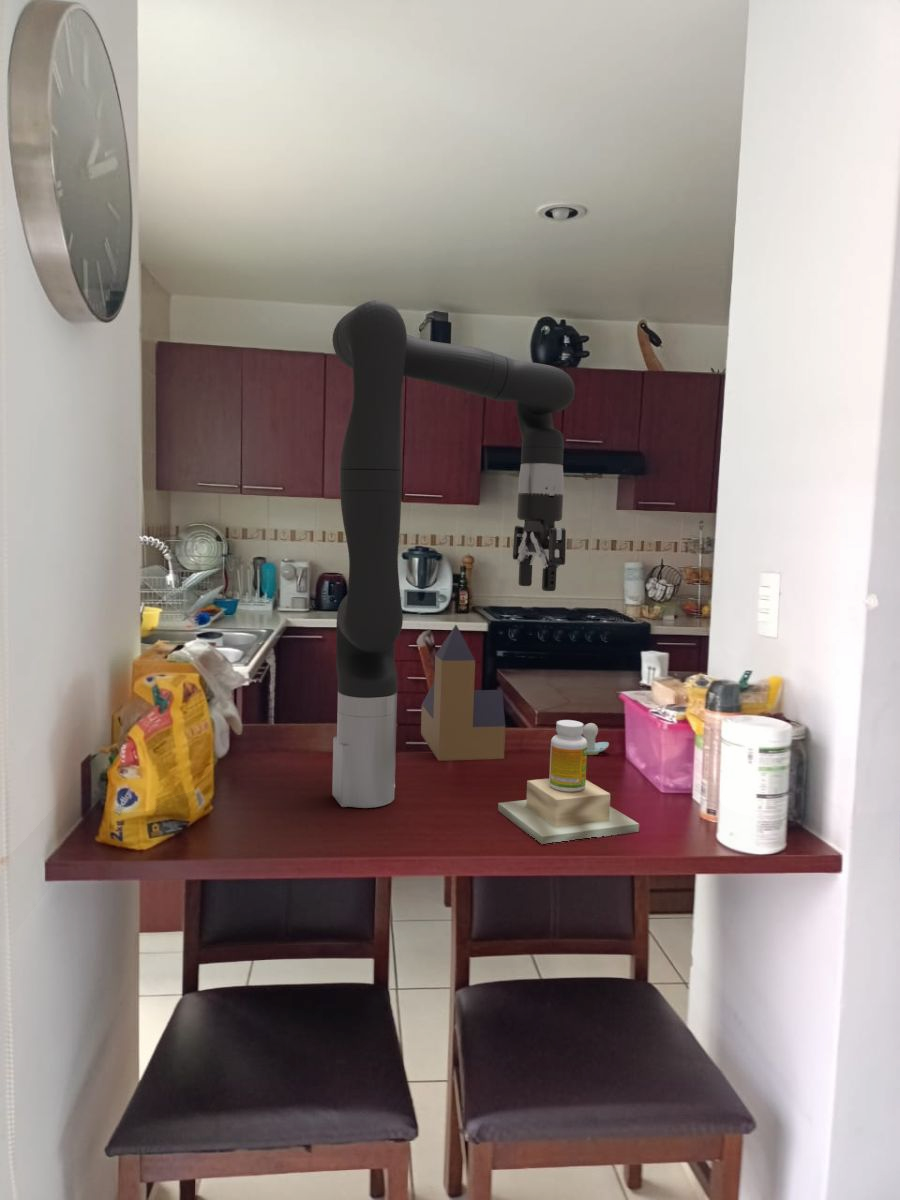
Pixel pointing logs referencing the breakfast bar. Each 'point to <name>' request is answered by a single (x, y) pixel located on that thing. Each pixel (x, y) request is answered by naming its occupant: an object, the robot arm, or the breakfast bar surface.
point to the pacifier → (593, 739)
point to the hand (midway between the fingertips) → (536, 588)
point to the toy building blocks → (461, 708)
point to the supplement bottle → (568, 757)
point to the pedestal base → (568, 831)
